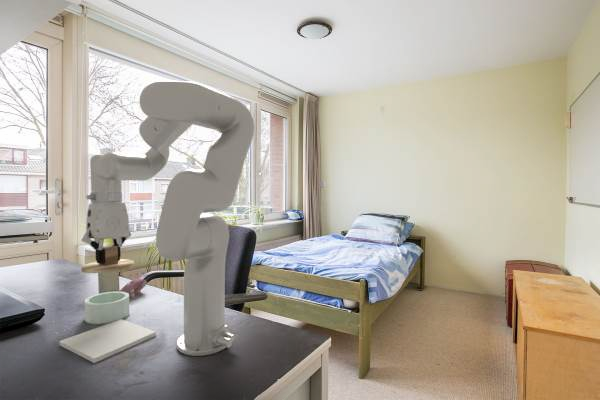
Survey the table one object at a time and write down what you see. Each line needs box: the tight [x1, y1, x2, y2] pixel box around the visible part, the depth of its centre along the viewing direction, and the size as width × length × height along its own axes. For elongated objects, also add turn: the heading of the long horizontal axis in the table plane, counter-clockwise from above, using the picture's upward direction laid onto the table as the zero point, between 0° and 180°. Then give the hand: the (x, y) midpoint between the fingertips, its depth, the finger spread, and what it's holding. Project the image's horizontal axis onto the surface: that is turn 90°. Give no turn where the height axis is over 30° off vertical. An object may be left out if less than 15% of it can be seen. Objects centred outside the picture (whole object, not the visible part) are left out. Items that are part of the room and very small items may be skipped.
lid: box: [80, 244, 135, 274], centre depth 93 cm, size 13×13×6 cm
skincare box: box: [97, 271, 120, 294], centre depth 112 cm, size 6×4×12 cm
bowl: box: [83, 292, 130, 325], centre depth 93 cm, size 11×11×6 cm
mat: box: [59, 319, 157, 364], centre depth 79 cm, size 15×15×1 cm
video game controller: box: [119, 277, 148, 299], centre depth 112 cm, size 10×5×7 cm, turn 169°
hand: (108, 261), depth 93 cm, fingers closed on lid, 3 cm apart
